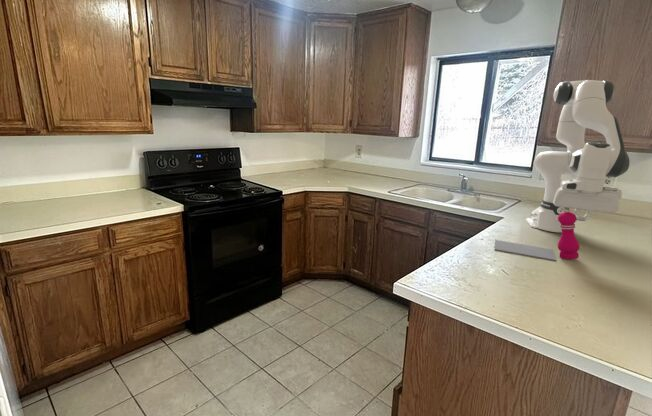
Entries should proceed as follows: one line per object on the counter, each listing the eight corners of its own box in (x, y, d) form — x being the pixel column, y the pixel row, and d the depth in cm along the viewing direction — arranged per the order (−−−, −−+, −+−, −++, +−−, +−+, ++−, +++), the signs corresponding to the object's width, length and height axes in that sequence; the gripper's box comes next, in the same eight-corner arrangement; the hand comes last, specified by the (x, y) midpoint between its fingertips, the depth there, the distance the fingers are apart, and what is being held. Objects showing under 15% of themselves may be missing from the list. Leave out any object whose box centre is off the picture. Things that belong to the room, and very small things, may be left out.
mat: (552, 250, 148) (552, 249, 148) (556, 261, 137) (556, 260, 137) (495, 241, 157) (495, 239, 157) (494, 250, 146) (494, 249, 146)
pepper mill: (557, 253, 145) (555, 206, 142) (579, 254, 141) (577, 205, 138) (558, 259, 139) (555, 210, 136) (580, 260, 135) (578, 210, 132)
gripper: (620, 187, 131) (611, 222, 134) (556, 181, 139) (549, 214, 143) (625, 190, 125) (616, 227, 129) (558, 183, 134) (551, 218, 137)
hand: (580, 220), depth 136 cm, fingers closed
